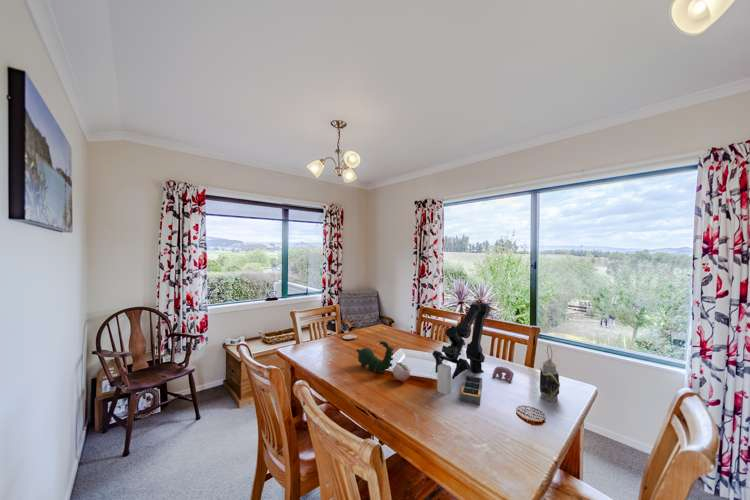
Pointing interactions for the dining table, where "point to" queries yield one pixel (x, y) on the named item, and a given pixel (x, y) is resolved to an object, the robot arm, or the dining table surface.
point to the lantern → (549, 380)
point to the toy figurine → (375, 358)
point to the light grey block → (444, 379)
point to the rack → (471, 390)
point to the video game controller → (501, 370)
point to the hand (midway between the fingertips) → (444, 375)
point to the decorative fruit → (401, 371)
